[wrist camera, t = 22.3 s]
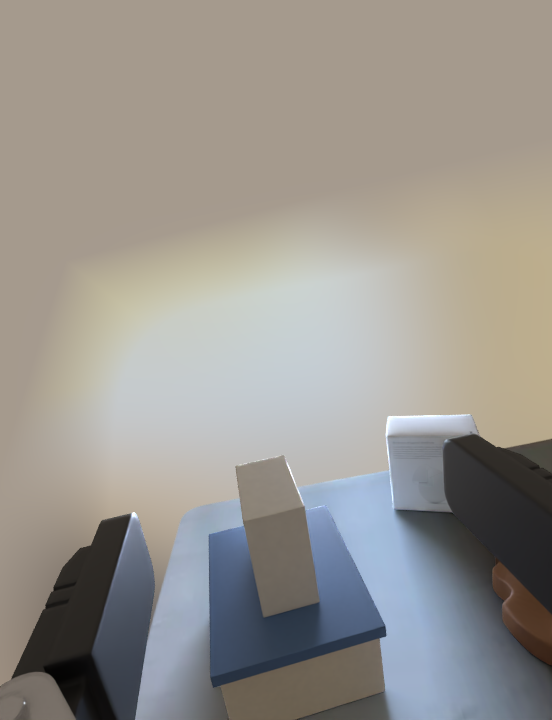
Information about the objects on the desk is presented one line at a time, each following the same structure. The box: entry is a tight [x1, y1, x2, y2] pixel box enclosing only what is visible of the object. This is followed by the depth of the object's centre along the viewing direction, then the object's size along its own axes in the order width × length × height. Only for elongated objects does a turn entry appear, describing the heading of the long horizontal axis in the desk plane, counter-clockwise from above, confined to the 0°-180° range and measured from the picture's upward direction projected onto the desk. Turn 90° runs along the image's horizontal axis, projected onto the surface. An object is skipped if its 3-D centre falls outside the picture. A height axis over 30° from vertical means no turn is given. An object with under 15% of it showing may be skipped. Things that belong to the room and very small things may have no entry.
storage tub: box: [209, 505, 386, 720], centre depth 36 cm, size 13×15×7 cm
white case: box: [236, 455, 320, 618], centre depth 34 cm, size 5×8×9 cm, turn 10°
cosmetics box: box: [386, 415, 480, 512], centre depth 51 cm, size 10×6×10 cm, turn 73°
